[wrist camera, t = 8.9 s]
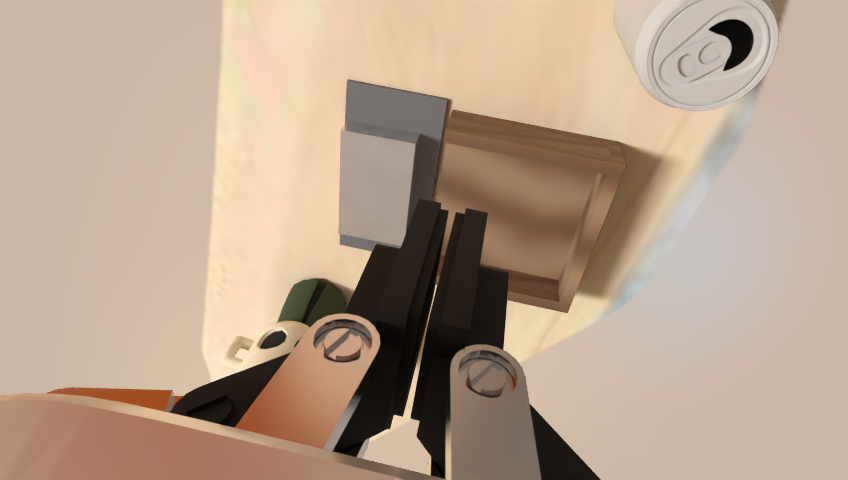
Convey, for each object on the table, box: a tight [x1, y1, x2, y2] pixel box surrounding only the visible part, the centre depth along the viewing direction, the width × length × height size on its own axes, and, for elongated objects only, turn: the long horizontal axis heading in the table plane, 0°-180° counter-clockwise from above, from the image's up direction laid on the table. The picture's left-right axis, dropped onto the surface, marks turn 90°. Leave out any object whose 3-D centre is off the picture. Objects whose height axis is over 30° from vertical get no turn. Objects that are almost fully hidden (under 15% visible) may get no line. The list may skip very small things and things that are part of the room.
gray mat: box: [340, 80, 448, 251], centre depth 45 cm, size 16×8×1 cm, turn 173°
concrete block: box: [339, 120, 420, 246], centre depth 45 cm, size 10×6×2 cm, turn 174°
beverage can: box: [614, 0, 778, 111], centre depth 30 cm, size 6×6×12 cm
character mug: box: [220, 280, 346, 373], centre depth 50 cm, size 11×7×13 cm, turn 73°
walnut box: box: [435, 110, 626, 313], centre depth 43 cm, size 14×13×4 cm
